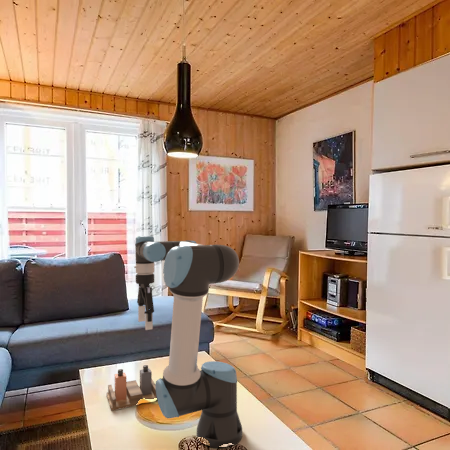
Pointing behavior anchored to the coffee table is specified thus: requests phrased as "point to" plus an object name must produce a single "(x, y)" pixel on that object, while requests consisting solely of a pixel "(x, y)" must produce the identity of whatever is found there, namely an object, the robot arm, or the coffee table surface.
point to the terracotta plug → (120, 385)
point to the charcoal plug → (146, 380)
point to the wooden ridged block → (129, 395)
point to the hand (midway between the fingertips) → (145, 325)
